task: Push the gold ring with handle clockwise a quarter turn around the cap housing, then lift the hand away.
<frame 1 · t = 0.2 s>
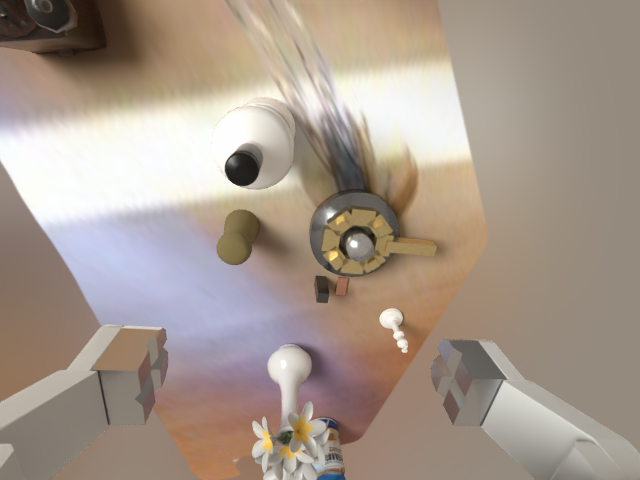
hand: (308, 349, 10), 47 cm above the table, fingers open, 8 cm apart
cork: (242, 225, 58), on the table
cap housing: (352, 231, 60), on the table
chess piece: (390, 317, 70), on the table
beverage bottle: (321, 426, 83), on the table
vodka: (266, 128, 52), on the table
dark brown boxy piece: (76, 8, 44), on the table
flower vase: (291, 355, 72), on the table
gold ring with handle: (379, 244, 57), point 5 cm above the table, hinge at 90.0°
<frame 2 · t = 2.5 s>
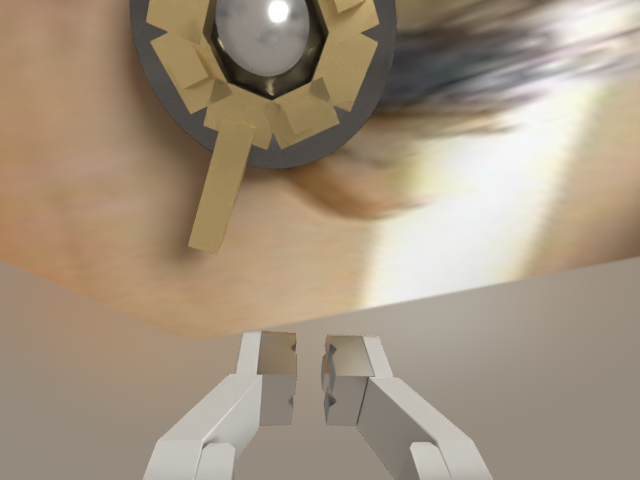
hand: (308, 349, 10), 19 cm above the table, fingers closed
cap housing: (271, 44, 23), on the table
gold ring with handle: (246, 105, 20), point 5 cm above the table, hinge at 90.0°
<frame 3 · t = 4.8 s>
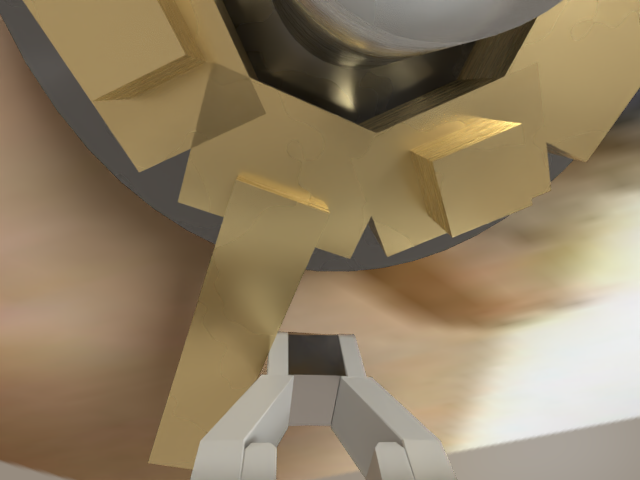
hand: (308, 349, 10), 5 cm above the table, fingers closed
gold ring with handle: (300, 143, 7), point 5 cm above the table, hinge at 89.9°, touching gripper
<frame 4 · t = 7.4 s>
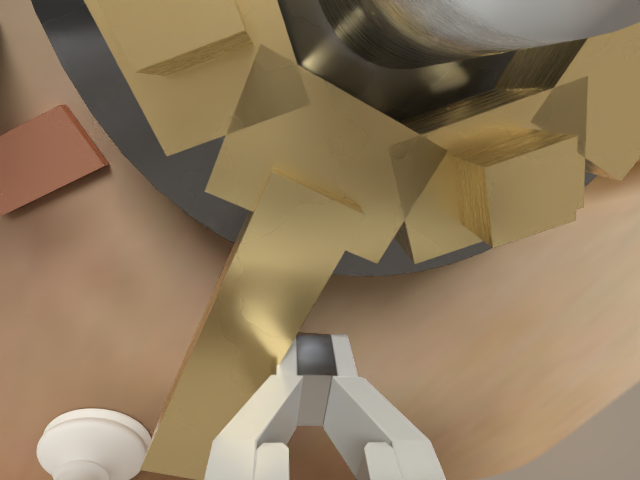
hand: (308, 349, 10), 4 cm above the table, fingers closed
chess piece: (102, 438, 16), on the table
gold ring with handle: (338, 139, 7), point 5 cm above the table, hinge at 39.8°, touching gripper
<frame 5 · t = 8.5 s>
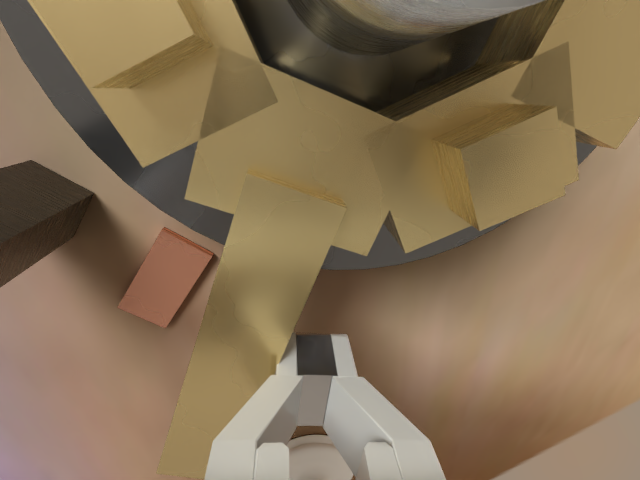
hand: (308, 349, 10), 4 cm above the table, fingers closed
chess piece: (311, 458, 19), on the table
gold ring with handle: (314, 134, 6), point 5 cm above the table, hinge at 14.3°, touching gripper
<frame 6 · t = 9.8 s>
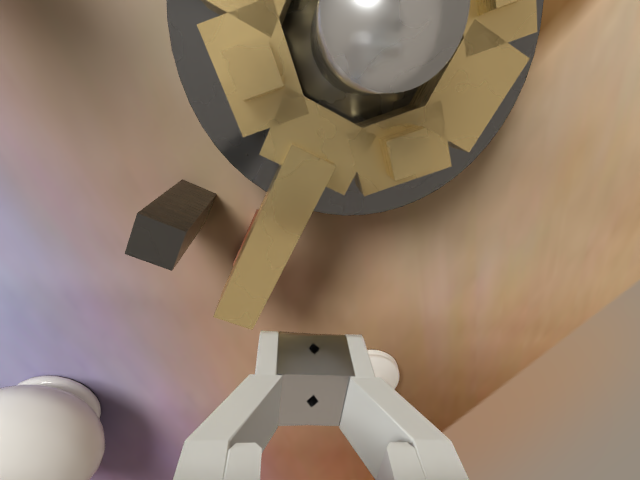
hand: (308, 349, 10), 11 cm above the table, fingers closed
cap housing: (349, 48, 17), on the table
chess piece: (366, 371, 26), on the table
flower vase: (65, 409, 25), on the table
gold ring with handle: (323, 130, 14), point 5 cm above the table, hinge at -0.2°
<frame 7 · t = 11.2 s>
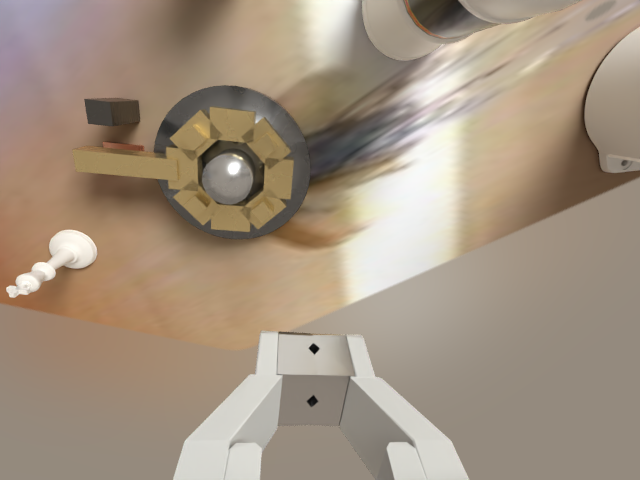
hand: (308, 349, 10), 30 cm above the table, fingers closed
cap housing: (238, 164, 37), on the table
chess piece: (75, 247, 39), on the table
vodka: (404, 9, 33), on the table
gold ring with handle: (190, 169, 32), point 5 cm above the table, hinge at -0.2°
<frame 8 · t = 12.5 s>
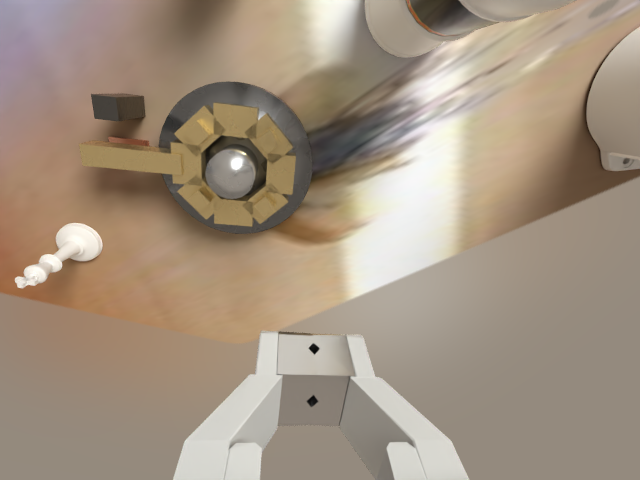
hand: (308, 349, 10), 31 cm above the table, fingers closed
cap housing: (241, 159, 37), on the table
chess piece: (81, 240, 40), on the table
vodka: (407, 6, 33), on the table
gold ring with handle: (194, 164, 33), point 5 cm above the table, hinge at -0.2°
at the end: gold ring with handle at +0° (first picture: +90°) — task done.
